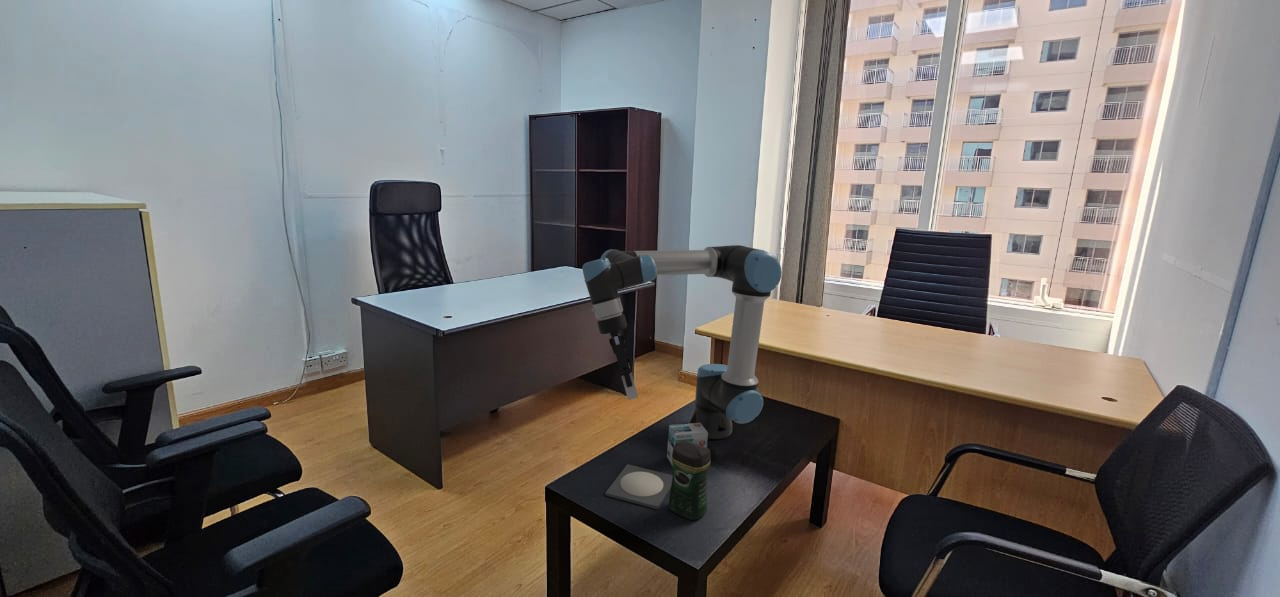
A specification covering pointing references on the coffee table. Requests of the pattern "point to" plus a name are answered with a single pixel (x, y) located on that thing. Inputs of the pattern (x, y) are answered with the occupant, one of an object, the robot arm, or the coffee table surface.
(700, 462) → the coffee jar
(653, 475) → the marker mat
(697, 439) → the light bulb box
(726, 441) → the coffee table surface
